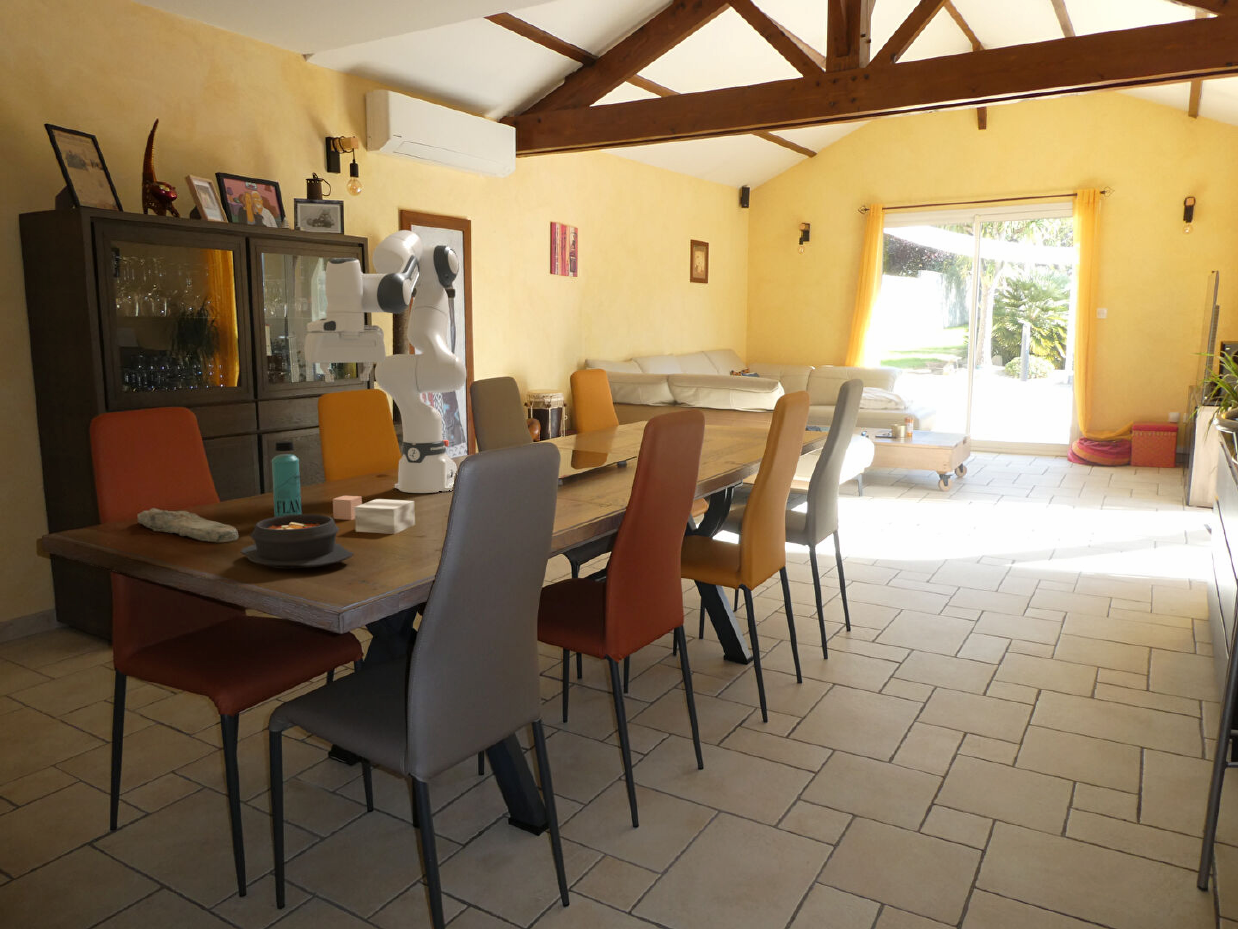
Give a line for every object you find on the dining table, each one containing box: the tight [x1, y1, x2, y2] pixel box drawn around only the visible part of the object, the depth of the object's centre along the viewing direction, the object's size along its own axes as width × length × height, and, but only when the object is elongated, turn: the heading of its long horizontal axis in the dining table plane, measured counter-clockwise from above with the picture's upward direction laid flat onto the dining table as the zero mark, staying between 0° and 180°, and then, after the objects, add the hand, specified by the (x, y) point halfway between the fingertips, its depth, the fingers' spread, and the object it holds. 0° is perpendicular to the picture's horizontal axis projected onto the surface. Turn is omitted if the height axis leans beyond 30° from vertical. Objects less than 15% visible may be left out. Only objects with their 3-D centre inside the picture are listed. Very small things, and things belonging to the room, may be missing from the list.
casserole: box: [240, 513, 354, 569], centre depth 183 cm, size 25×19×8 cm
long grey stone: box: [136, 507, 240, 543], centre depth 209 cm, size 35×5×10 cm
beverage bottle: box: [271, 440, 303, 517], centre depth 216 cm, size 6×7×20 cm
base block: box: [354, 498, 416, 535], centre depth 213 cm, size 10×10×6 cm
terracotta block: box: [332, 495, 363, 521], centre depth 224 cm, size 5×5×5 cm
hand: (347, 381), depth 222 cm, fingers open, 8 cm apart
